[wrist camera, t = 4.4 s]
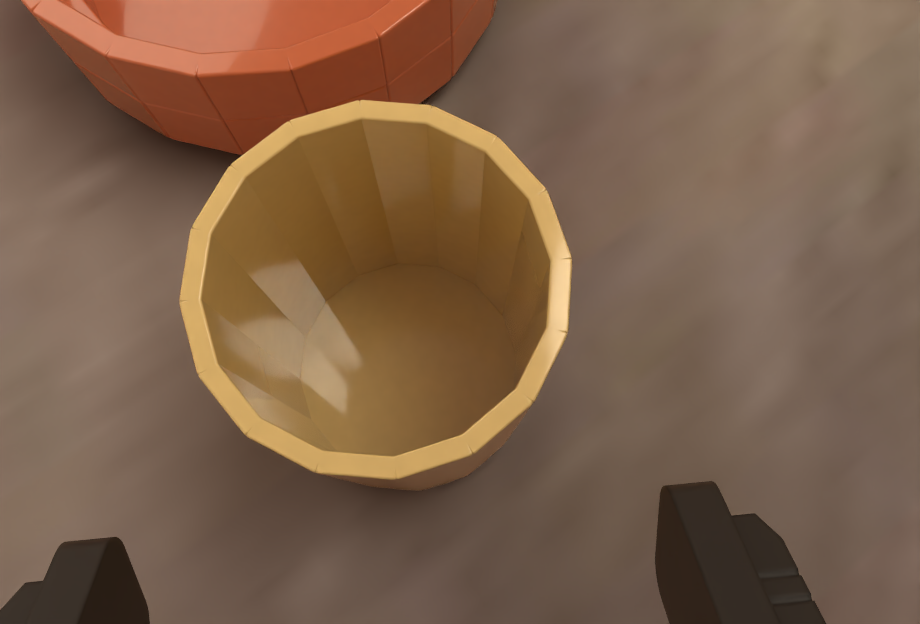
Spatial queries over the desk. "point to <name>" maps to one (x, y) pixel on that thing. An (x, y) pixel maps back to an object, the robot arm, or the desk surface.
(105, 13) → the bowl
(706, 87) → the desk surface
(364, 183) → the cup
